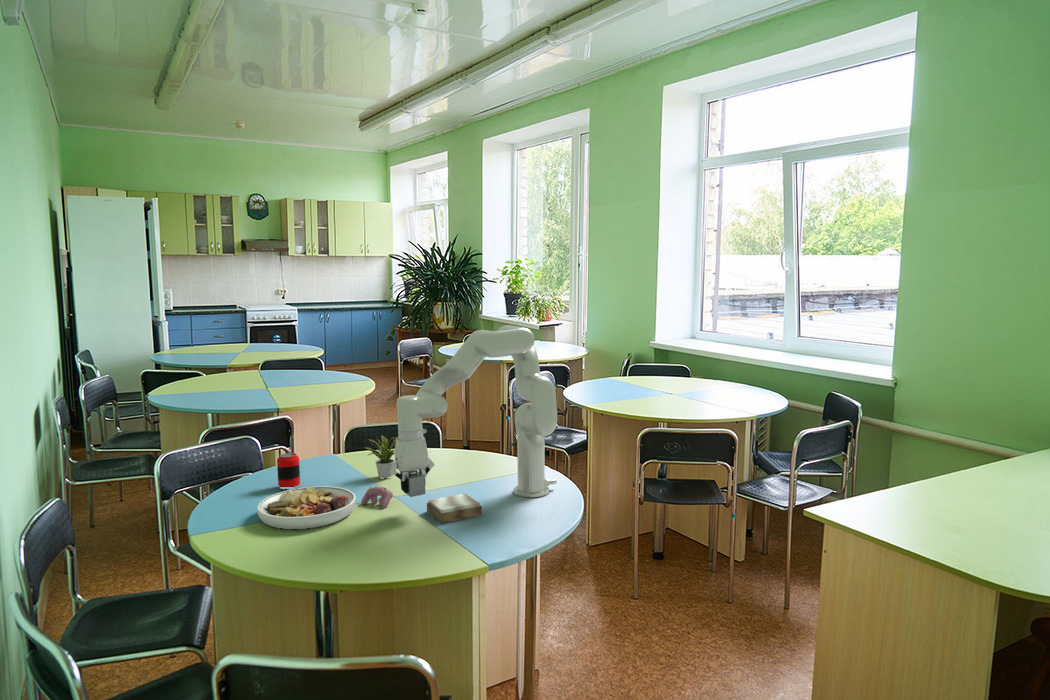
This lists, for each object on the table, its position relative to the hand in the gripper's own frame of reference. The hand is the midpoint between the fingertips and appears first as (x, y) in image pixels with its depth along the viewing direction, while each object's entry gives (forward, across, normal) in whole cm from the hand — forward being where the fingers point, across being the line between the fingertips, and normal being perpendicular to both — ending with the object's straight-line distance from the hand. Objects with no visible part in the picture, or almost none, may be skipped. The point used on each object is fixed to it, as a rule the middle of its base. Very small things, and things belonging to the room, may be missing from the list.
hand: (413, 489), depth 213 cm
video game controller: (+8, +8, -15) cm, 19 cm away
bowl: (+8, +30, -17) cm, 35 cm away
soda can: (+8, +30, -50) cm, 59 cm away
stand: (+8, -11, +6) cm, 15 cm away
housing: (+1, 0, 0) cm, 1 cm away
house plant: (+9, -5, -45) cm, 46 cm away
